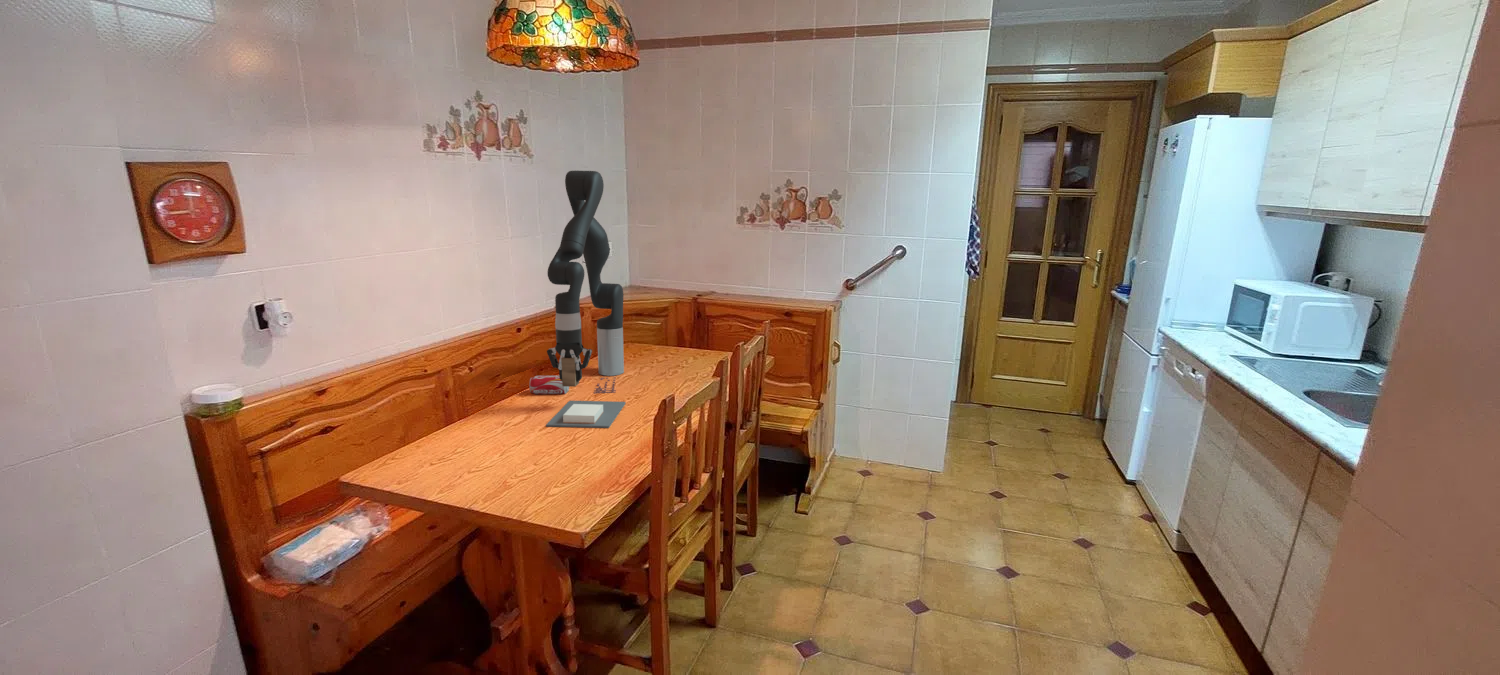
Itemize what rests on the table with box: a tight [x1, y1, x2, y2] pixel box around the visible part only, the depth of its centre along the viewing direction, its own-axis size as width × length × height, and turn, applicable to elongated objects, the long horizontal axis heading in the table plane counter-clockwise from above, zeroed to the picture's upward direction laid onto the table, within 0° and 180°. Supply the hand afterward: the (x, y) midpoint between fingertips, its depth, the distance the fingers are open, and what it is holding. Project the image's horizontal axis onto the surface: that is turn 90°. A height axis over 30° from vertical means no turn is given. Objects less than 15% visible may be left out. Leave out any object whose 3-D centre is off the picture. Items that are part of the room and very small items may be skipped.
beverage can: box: [528, 375, 570, 395], centre depth 202 cm, size 6×6×12 cm
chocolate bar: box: [593, 375, 617, 395], centre depth 212 cm, size 7×19×2 cm, turn 10°
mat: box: [545, 400, 626, 429], centre depth 183 cm, size 22×18×1 cm
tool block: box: [561, 357, 580, 388], centre depth 188 cm, size 4×4×9 cm
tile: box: [563, 404, 603, 424], centre depth 179 cm, size 2×9×10 cm
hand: (570, 380), depth 188 cm, fingers closed on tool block, 4 cm apart
